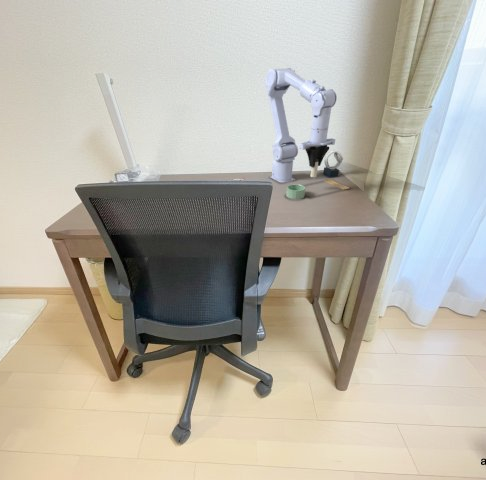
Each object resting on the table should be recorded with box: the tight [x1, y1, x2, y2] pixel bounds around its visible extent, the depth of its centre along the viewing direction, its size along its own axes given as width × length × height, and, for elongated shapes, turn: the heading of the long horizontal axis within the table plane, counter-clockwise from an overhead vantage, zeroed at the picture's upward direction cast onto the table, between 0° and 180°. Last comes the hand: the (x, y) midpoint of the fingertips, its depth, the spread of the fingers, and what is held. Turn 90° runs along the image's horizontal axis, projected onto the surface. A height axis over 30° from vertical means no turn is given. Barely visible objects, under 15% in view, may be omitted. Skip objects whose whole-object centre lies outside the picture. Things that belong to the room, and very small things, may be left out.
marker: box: [309, 158, 319, 178], centre depth 100 cm, size 2×2×7 cm
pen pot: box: [285, 183, 307, 200], centre depth 101 cm, size 7×7×4 cm
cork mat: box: [323, 179, 351, 191], centre depth 107 cm, size 12×20×1 cm, turn 112°
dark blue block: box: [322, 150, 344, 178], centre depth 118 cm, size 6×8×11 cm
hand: (314, 165), depth 100 cm, fingers closed on marker, 2 cm apart
